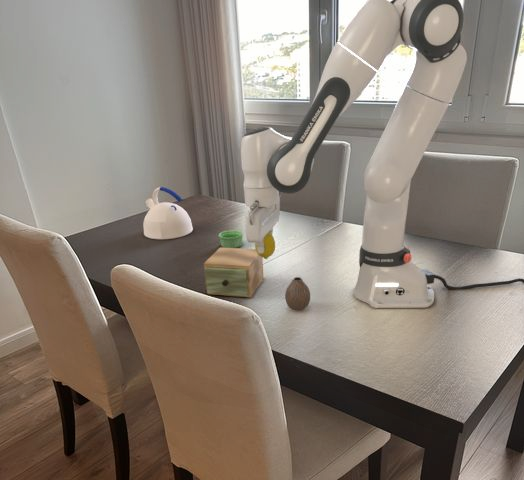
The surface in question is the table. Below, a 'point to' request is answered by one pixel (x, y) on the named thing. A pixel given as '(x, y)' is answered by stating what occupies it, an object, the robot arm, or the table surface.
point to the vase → (297, 295)
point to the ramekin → (231, 239)
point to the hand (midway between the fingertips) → (265, 247)
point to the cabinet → (239, 265)
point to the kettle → (166, 218)
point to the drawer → (226, 281)
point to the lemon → (267, 246)
